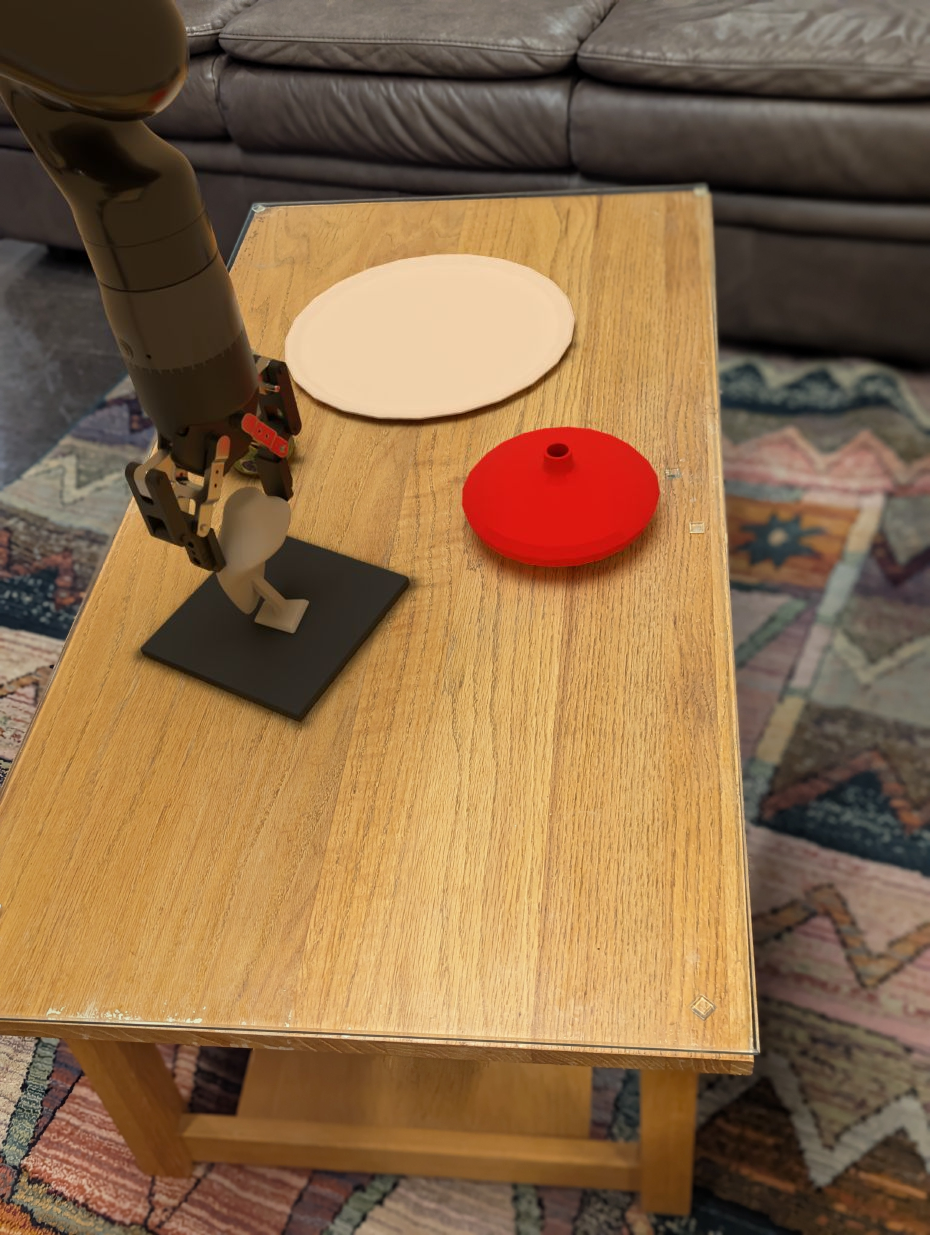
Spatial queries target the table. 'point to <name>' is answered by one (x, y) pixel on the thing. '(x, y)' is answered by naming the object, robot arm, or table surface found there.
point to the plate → (429, 336)
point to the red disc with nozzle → (560, 496)
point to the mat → (271, 658)
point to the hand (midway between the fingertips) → (247, 530)
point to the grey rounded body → (256, 556)
